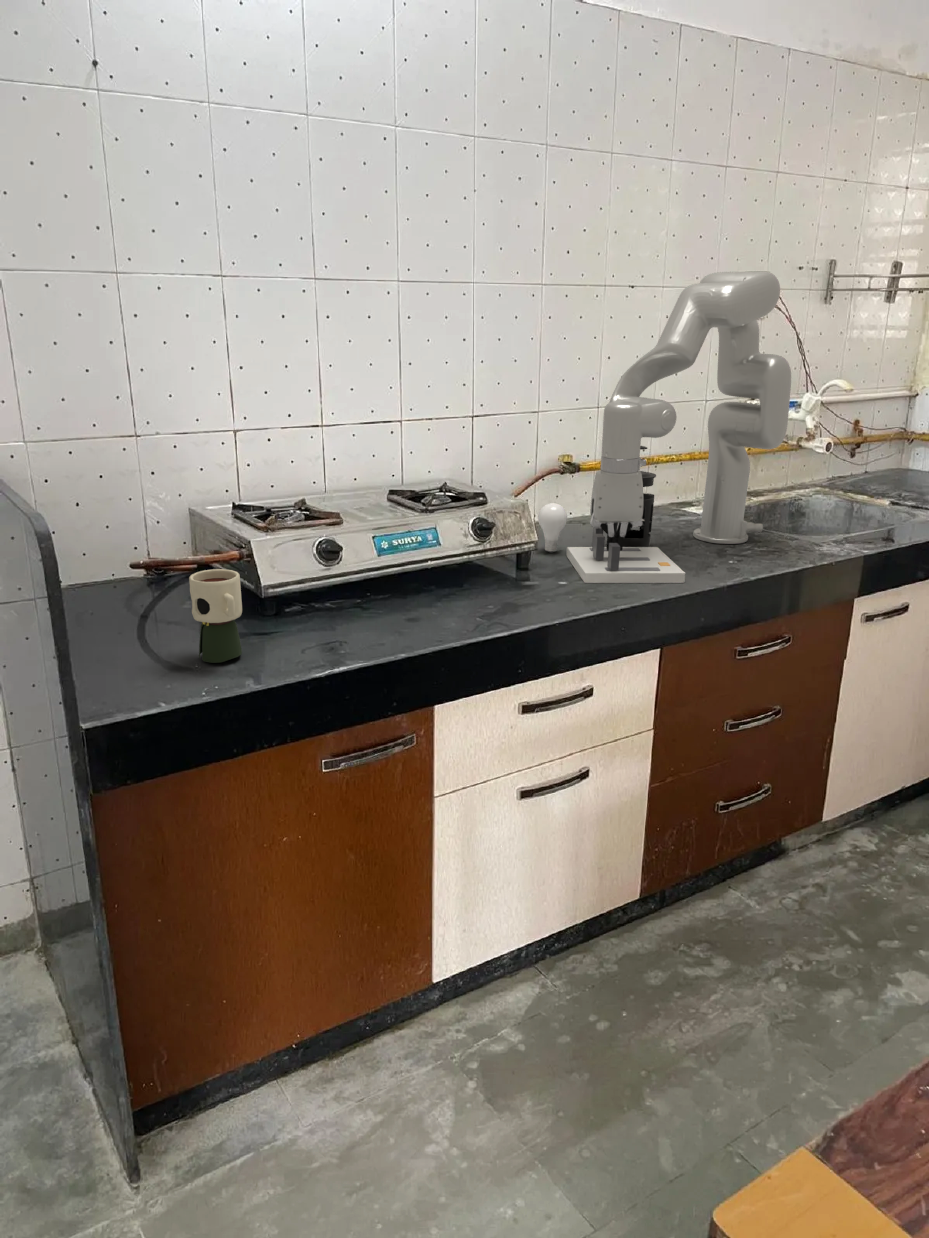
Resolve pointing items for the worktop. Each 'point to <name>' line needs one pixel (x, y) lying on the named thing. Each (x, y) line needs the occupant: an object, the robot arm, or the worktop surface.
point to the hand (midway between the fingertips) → (614, 554)
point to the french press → (642, 536)
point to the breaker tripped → (598, 546)
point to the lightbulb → (552, 524)
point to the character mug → (217, 613)
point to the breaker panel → (626, 566)
